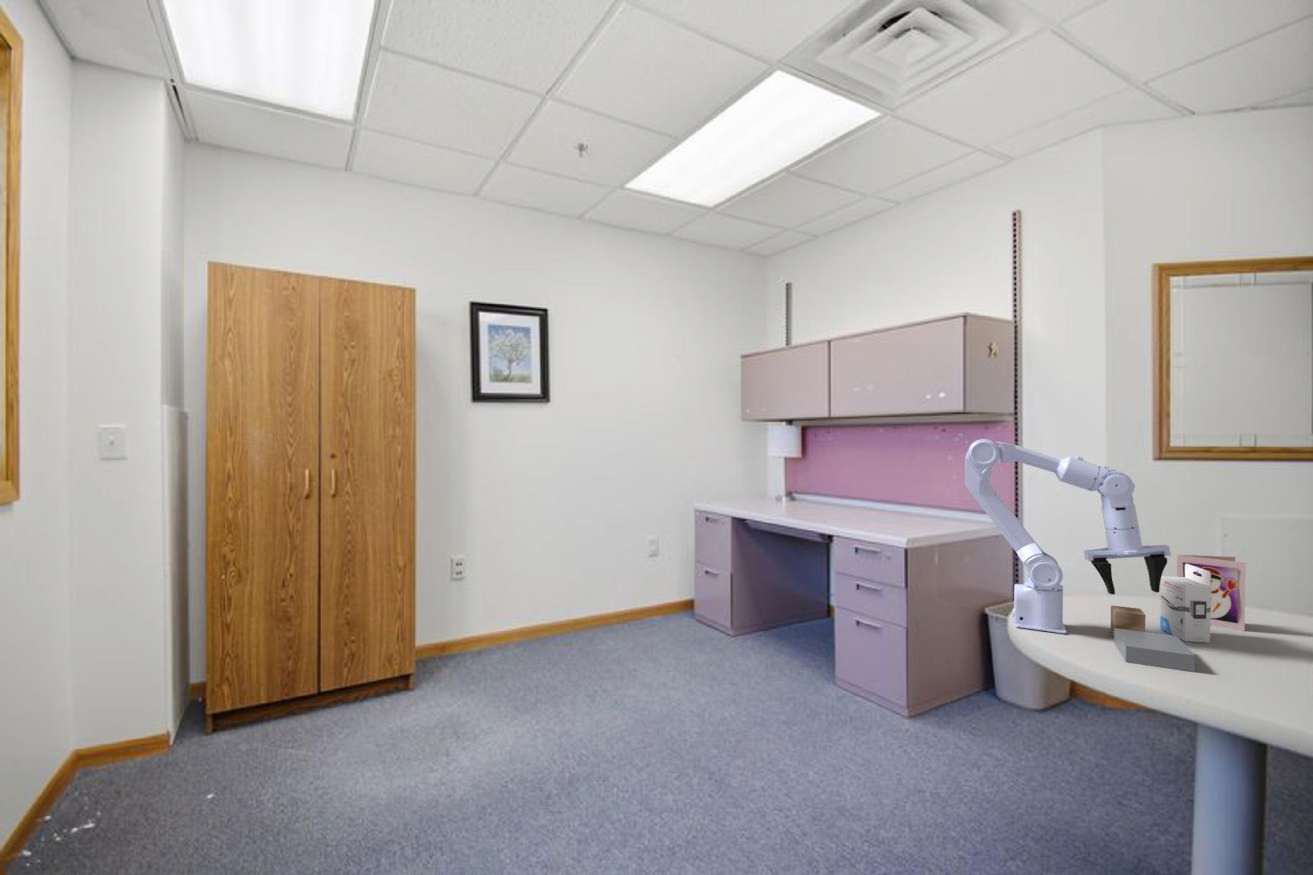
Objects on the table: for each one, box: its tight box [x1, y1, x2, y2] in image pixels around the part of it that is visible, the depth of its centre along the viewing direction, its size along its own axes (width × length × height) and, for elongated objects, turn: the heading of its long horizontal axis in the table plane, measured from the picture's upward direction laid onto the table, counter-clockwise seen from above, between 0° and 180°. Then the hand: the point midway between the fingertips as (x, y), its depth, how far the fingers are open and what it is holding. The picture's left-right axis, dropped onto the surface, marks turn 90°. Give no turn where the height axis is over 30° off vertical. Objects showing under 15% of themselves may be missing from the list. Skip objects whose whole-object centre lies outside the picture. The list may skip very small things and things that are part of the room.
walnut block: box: [1110, 604, 1146, 638], centre depth 128 cm, size 5×5×6 cm
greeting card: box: [1176, 554, 1246, 632], centre depth 139 cm, size 11×7×15 cm, turn 43°
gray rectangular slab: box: [1113, 628, 1196, 673], centre depth 117 cm, size 10×12×3 cm
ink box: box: [1159, 564, 1211, 644], centre depth 130 cm, size 9×5×15 cm, turn 168°
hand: (1133, 592), depth 128 cm, fingers open, 7 cm apart
